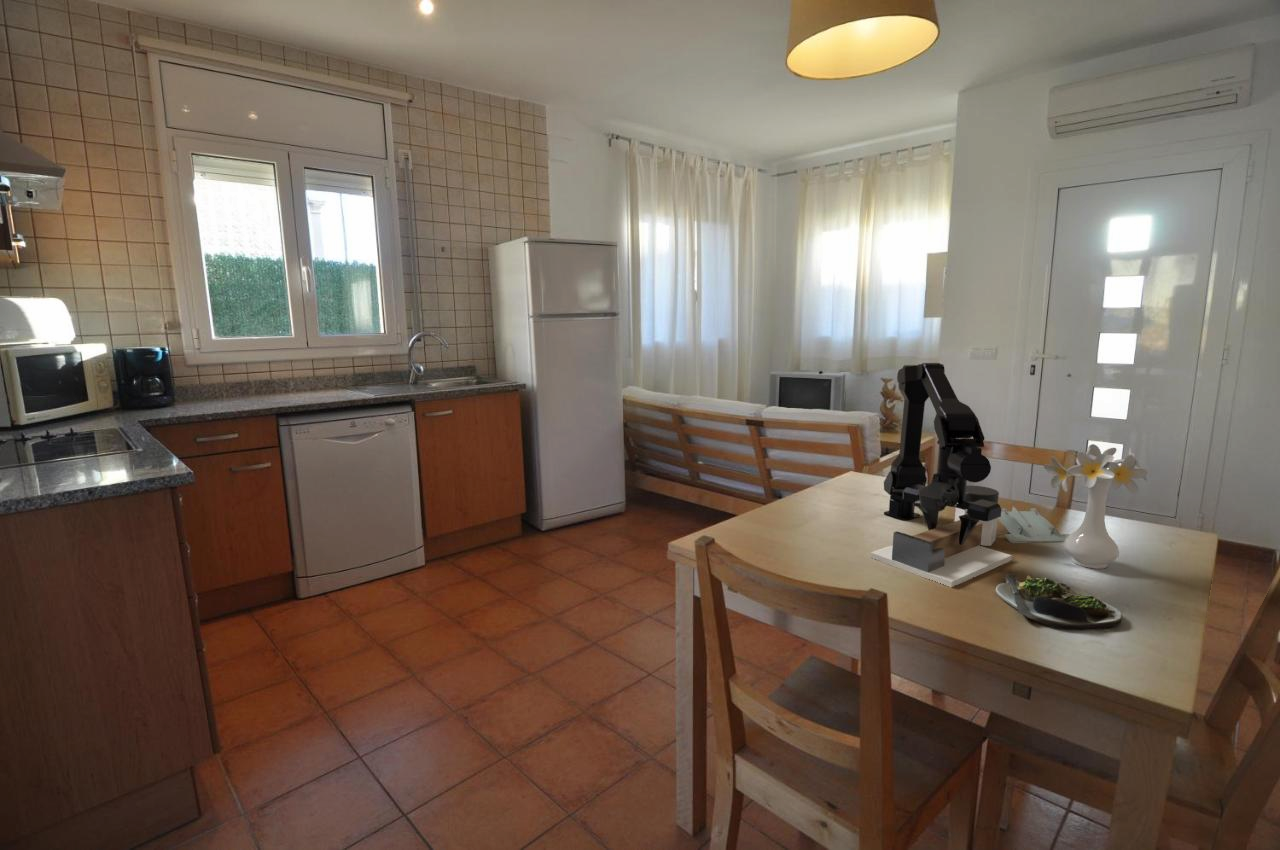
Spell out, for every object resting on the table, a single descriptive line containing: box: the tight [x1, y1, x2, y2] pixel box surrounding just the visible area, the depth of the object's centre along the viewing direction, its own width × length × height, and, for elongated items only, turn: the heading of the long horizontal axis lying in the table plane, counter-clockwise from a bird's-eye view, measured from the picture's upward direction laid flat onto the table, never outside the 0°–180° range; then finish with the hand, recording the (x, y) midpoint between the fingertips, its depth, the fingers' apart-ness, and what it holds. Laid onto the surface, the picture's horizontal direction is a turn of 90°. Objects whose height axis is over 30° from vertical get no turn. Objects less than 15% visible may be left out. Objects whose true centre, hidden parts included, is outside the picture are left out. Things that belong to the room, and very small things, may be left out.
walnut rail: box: [913, 520, 983, 558], centre depth 130 cm, size 22×4×5 cm, turn 123°
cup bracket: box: [892, 531, 945, 573], centre depth 125 cm, size 6×8×6 cm
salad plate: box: [995, 573, 1123, 631], centre depth 109 cm, size 19×18×5 cm
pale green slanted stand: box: [997, 506, 1070, 544], centre depth 145 cm, size 14×6×15 cm
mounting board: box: [869, 544, 1012, 588], centre depth 130 cm, size 23×18×1 cm
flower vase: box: [1043, 443, 1149, 570], centre depth 124 cm, size 13×18×25 cm
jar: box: [954, 485, 1000, 547], centre depth 140 cm, size 9×8×12 cm
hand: (946, 539), depth 130 cm, fingers open, 6 cm apart
